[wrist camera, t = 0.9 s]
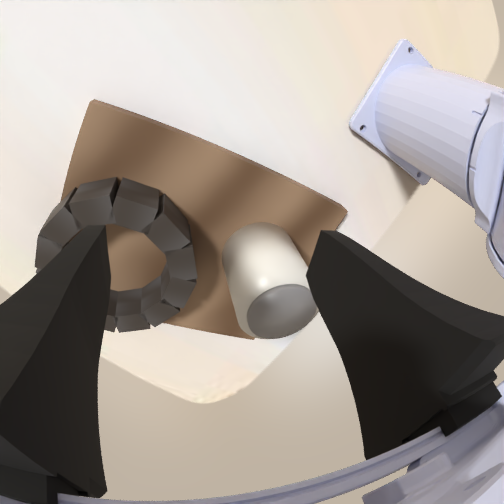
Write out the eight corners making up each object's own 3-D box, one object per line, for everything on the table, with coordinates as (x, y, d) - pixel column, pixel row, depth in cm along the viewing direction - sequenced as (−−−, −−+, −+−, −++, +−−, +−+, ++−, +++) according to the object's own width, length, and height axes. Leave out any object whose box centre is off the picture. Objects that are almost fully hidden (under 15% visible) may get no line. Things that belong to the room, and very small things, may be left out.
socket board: (341, 204, 22) (365, 230, 19) (250, 331, 28) (260, 361, 25) (86, 97, 14) (67, 106, 11) (44, 281, 20) (33, 314, 17)
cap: (304, 235, 22) (341, 292, 17) (268, 287, 24) (293, 347, 19) (243, 211, 19) (269, 271, 15) (209, 271, 21) (223, 337, 17)
